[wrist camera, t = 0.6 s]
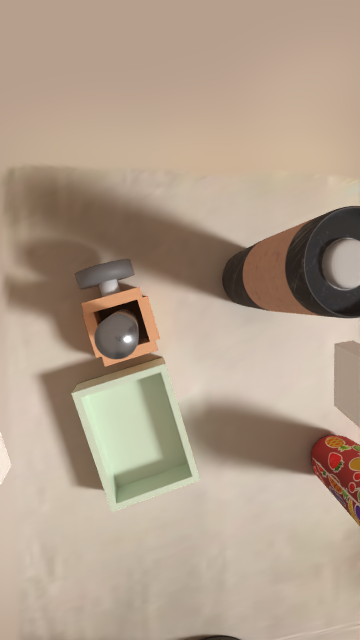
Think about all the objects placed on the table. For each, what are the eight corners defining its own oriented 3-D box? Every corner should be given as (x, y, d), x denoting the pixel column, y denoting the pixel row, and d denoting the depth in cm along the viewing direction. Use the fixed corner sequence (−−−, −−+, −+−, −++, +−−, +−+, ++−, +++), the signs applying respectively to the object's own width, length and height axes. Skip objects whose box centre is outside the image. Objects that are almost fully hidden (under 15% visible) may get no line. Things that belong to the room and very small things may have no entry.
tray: (194, 463, 41) (200, 480, 37) (114, 492, 40) (111, 512, 36) (163, 357, 40) (165, 363, 36) (77, 383, 38) (71, 393, 35)
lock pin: (141, 333, 39) (143, 352, 26) (113, 341, 39) (101, 364, 26) (133, 305, 39) (131, 311, 26) (105, 314, 38) (88, 323, 25)
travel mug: (215, 302, 40) (290, 310, 20) (225, 243, 39) (314, 191, 20) (270, 312, 41) (394, 328, 21) (281, 255, 41) (417, 216, 21)
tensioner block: (160, 343, 39) (165, 354, 32) (103, 360, 39) (95, 376, 31) (136, 262, 38) (136, 254, 31) (77, 278, 37) (62, 274, 30)
